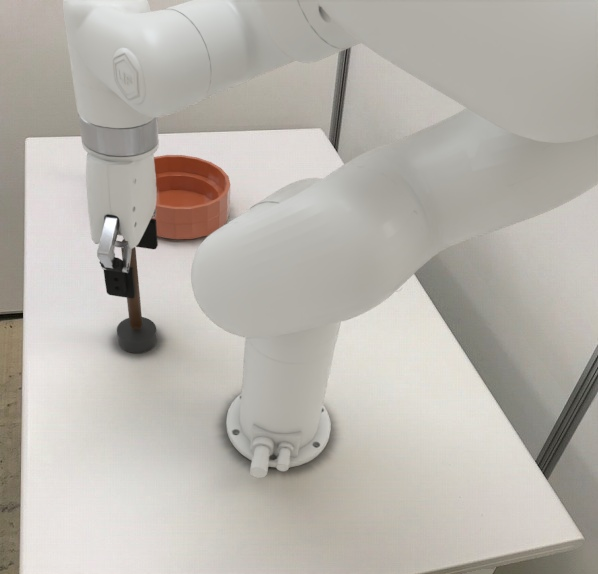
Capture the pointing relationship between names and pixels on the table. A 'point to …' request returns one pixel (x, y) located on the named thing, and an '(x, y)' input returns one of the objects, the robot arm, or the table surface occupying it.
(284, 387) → the robot arm
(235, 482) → the table surface
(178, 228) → the bowl
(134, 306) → the plunger
